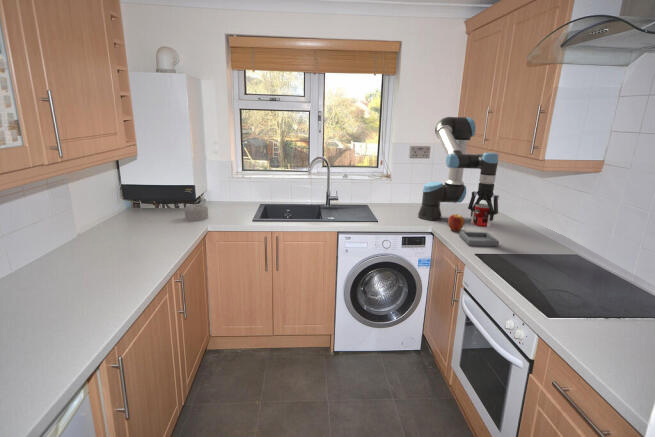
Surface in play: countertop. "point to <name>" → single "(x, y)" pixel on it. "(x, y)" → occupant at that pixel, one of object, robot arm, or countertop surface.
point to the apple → (456, 222)
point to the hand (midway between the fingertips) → (480, 224)
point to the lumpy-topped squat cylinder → (196, 213)
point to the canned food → (481, 215)
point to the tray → (478, 239)
